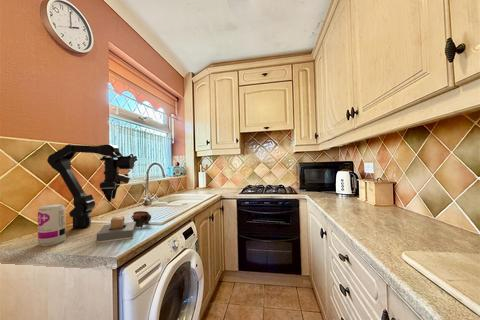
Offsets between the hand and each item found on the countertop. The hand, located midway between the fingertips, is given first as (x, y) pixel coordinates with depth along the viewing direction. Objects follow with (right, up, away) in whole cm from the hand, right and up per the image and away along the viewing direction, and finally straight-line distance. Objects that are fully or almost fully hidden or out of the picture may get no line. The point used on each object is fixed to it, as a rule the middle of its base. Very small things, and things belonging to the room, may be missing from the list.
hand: (111, 200), depth 106 cm
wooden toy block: (+11, -12, -14) cm, 22 cm away
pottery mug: (+15, -13, 0) cm, 20 cm away
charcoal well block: (+11, -13, -14) cm, 22 cm away
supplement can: (-11, -13, -21) cm, 27 cm away
